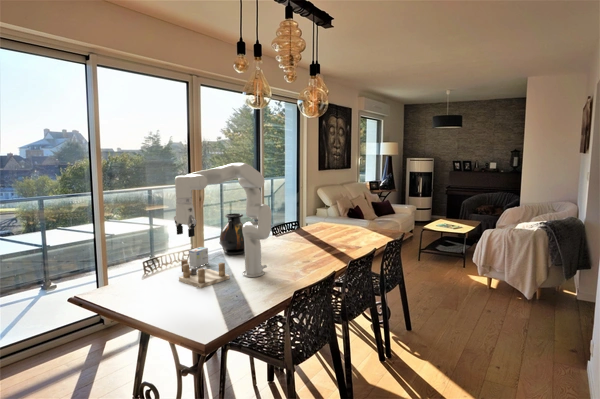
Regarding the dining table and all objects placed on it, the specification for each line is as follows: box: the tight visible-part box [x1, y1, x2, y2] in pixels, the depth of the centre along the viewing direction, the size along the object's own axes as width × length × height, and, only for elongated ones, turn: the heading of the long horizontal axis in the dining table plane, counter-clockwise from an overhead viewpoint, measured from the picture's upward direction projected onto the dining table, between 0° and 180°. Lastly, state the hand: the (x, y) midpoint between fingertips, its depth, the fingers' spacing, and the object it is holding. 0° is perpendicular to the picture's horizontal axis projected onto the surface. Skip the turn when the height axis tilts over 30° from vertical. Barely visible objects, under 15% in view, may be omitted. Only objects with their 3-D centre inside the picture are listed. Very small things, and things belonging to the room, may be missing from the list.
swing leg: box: [180, 259, 198, 275], centre depth 225 cm, size 12×4×7 cm, turn 51°
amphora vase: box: [219, 212, 245, 256], centre depth 277 cm, size 22×22×28 cm
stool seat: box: [178, 262, 231, 289], centre depth 219 cm, size 20×20×9 cm
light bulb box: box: [188, 246, 209, 268], centre depth 248 cm, size 11×7×11 cm, turn 149°
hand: (185, 235), depth 190 cm, fingers open, 9 cm apart
